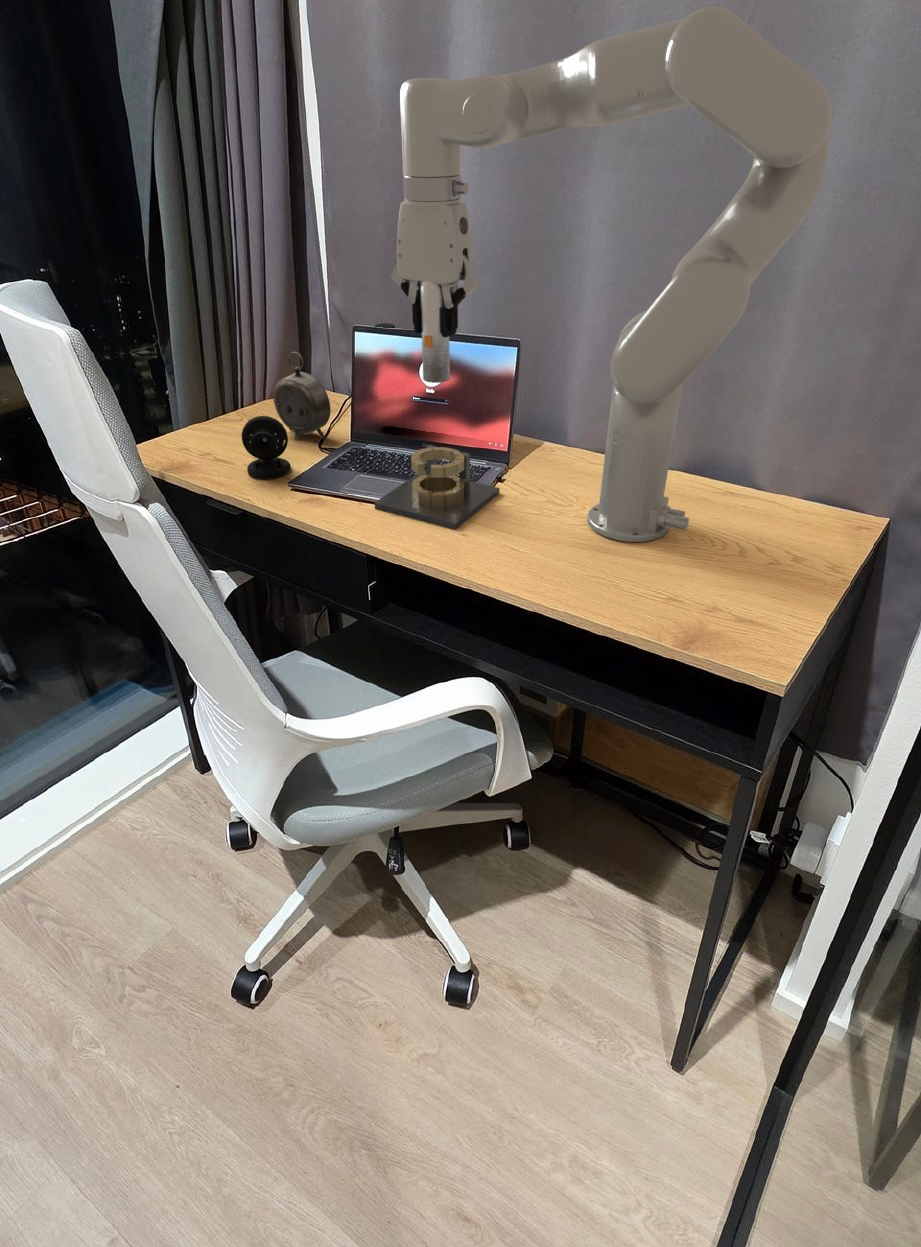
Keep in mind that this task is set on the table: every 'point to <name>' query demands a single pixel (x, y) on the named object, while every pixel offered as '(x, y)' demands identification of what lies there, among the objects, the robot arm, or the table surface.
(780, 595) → the table surface
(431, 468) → the collar stand
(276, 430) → the webcam
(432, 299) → the steel tube
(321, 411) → the alarm clock
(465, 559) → the table surface
